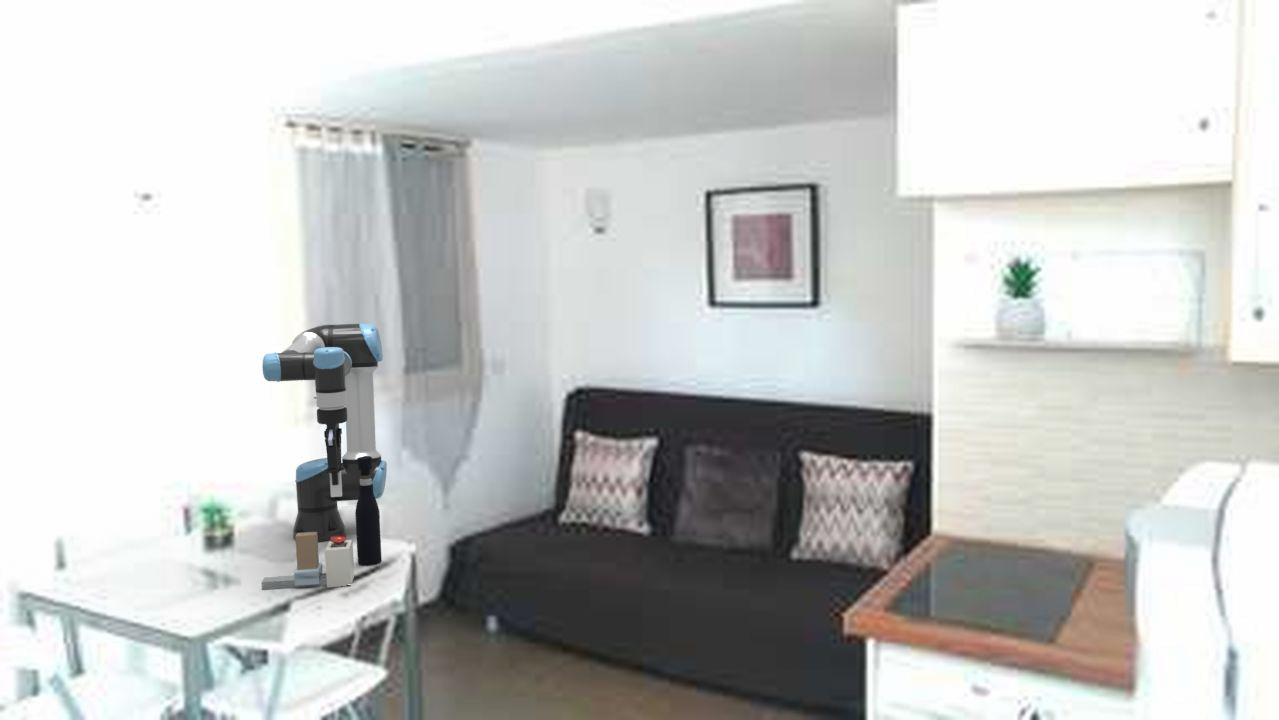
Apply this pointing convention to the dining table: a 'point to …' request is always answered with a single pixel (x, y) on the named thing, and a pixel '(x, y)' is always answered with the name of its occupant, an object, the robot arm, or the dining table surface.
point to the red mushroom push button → (338, 540)
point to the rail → (288, 582)
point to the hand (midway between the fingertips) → (336, 496)
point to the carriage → (307, 559)
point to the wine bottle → (367, 518)
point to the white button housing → (339, 564)
